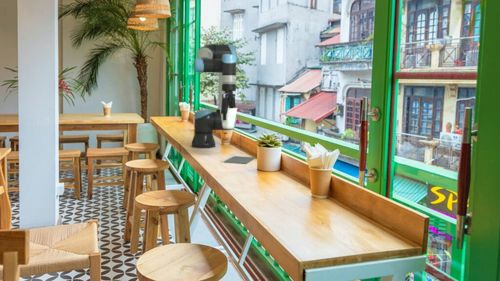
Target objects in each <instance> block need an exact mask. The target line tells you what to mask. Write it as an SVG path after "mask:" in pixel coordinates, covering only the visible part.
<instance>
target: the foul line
mask: <svg viewBox="0 0 500 281" xmlns="http://www.w3.org/2000/svg"><path fill="white" fill-rule="evenodd" d="M234 156H235V155H234V154H230V155H229V156H227V157H225V158H223V159H221V160H220V162H222V163H225V162H224V161H226V160H228V159H230V158H232V157H234Z"/></svg>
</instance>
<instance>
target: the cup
mask: <svg viewBox="0 0 500 281" xmlns="http://www.w3.org/2000/svg"><path fill="white" fill-rule="evenodd" d="M219 109H220V113H221V108H219ZM237 112H238V107H236V108H228V112H227V114H228V126H223V114H221V120H222V126H223V128H224V129H233V128H234V125H235V126H236V124H235V119H236V120H237V117H236V114H237ZM237 115H238V114H237ZM234 129H235V128H234ZM234 129H233V130H234Z"/></svg>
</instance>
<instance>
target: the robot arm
mask: <svg viewBox="0 0 500 281" xmlns="http://www.w3.org/2000/svg"><path fill="white" fill-rule="evenodd" d="M196 56H197V57H196V58H195V59H194V71H195V72H196V73H200V74H201V73H215V74H216V73H217V74H218V106H217V108H215V111H214V110H213V109H202V110H197V111H195V113H194V117H193V118H194V119H193V120H194V129H193V131H194V132H193V133H194V135H193V138H192V140H191V141H192V142H191V147H192V148H197V149H199V148H200V149H210V148H215V147H216V140H215V138H214V134H213V131H234V130H235V128H236V124H237V123H236V122H237V116H238V114H236V119H235V125H234V128H233V129H224V128H223V126H228V114H227V112H228V108H237V106H236V94H235V93H234V92H236V91H237V90H236V89H237V85H236V84H237V78H238V77H237V75H236V74H237V63H238V55H237V50H236V46H235V45H234V44H228V43H226V44H225V43H224V44H221V43H219V44H218V43H217V44H216V43H210V44H205V45H203V46H201V47H199V49H198V50H197V52H196ZM219 108H221V113H220V109H219ZM221 114H223V126H222V120H221Z"/></svg>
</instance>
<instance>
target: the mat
mask: <svg viewBox="0 0 500 281" xmlns="http://www.w3.org/2000/svg"><path fill="white" fill-rule="evenodd" d="M253 160H256V157H254V156H239V155H234V157H232V158H230V159H228V160H226V161H224V162H223V163H225V164H238V165H239V164H240V165H241V164H242V165H243V164H244V165H246V164H249V163H251V162H252V161H253Z"/></svg>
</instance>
